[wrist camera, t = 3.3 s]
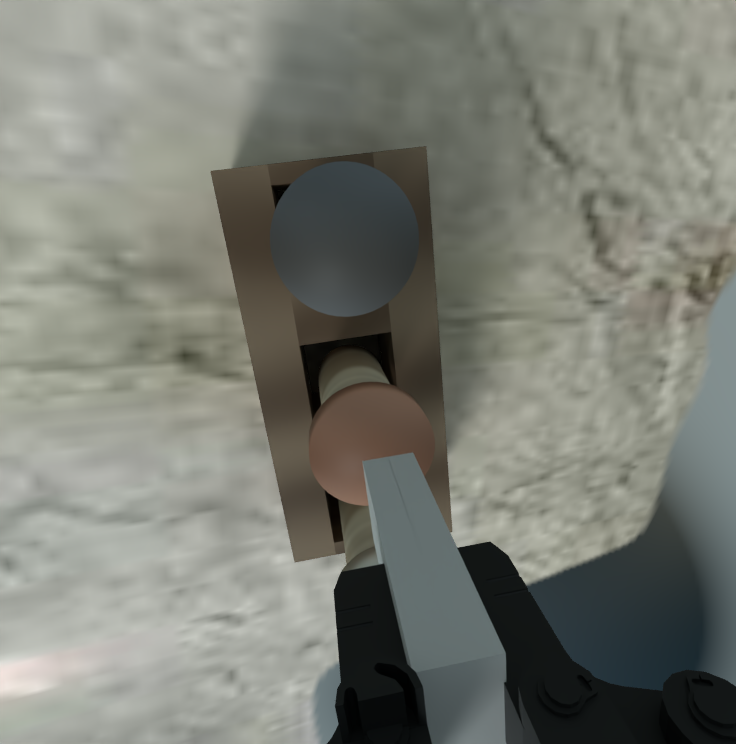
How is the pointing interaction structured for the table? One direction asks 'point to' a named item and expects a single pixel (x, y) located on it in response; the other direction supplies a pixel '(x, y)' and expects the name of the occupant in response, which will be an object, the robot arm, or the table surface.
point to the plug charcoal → (344, 238)
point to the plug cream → (357, 536)
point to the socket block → (328, 336)
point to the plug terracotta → (362, 423)
